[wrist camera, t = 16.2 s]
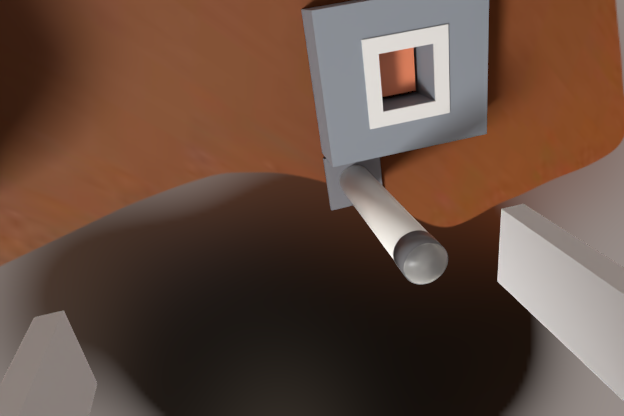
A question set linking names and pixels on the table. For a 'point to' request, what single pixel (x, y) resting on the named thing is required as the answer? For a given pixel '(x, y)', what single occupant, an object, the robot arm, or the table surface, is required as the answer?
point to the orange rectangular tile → (397, 72)
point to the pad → (333, 178)
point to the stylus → (394, 227)
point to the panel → (367, 82)
